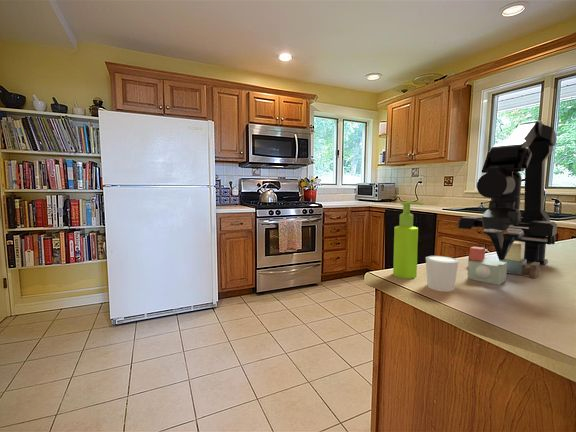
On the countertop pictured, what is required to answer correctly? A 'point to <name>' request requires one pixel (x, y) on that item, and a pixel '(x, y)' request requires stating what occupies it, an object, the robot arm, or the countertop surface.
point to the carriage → (515, 258)
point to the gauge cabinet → (487, 271)
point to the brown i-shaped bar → (528, 269)
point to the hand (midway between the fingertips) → (501, 259)
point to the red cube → (477, 253)
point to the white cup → (441, 272)
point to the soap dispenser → (405, 244)
